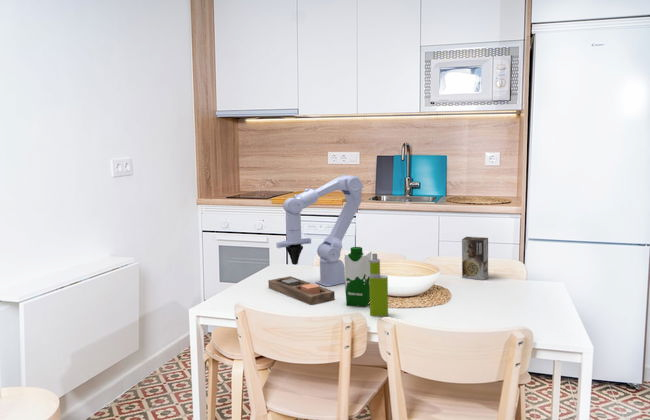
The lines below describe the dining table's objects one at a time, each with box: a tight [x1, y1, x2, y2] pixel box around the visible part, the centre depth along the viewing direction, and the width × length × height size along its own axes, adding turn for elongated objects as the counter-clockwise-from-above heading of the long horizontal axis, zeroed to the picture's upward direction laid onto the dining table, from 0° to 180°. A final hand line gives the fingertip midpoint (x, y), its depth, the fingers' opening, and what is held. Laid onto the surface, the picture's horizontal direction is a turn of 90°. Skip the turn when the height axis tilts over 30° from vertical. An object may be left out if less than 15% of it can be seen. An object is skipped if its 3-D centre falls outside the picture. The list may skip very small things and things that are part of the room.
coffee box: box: [461, 236, 489, 281], centre depth 226 cm, size 9×6×16 cm
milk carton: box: [344, 246, 372, 308], centre depth 195 cm, size 9×9×20 cm
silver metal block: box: [281, 279, 299, 286], centre depth 216 cm, size 5×5×3 cm
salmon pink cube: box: [301, 283, 321, 294], centre depth 204 cm, size 5×5×3 cm
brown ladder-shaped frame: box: [268, 276, 336, 306], centre depth 210 cm, size 10×30×3 cm, turn 35°
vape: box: [369, 253, 389, 317], centre depth 182 cm, size 4×6×20 cm, turn 81°
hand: (294, 264), depth 218 cm, fingers closed
